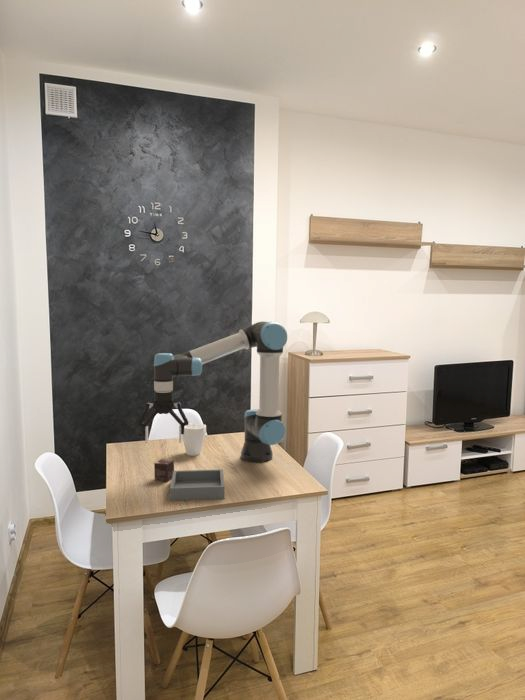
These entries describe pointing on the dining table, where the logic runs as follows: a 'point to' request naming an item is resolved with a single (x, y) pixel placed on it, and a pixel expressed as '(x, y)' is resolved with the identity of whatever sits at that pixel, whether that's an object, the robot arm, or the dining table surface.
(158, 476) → the box
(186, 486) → the bin
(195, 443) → the cup
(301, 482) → the dining table surface
